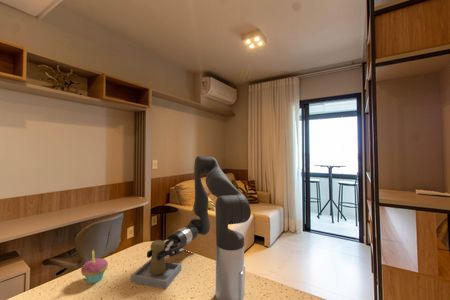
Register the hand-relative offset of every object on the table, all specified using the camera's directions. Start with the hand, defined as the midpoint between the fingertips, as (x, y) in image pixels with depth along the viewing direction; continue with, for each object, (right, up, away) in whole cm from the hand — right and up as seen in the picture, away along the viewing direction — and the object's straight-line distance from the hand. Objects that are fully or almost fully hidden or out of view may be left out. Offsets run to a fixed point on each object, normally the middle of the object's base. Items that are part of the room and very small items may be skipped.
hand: (152, 256), depth 79 cm
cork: (+1, -7, +3) cm, 7 cm away
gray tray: (+1, -9, +2) cm, 9 cm away
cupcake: (-21, -9, 0) cm, 23 cm away
